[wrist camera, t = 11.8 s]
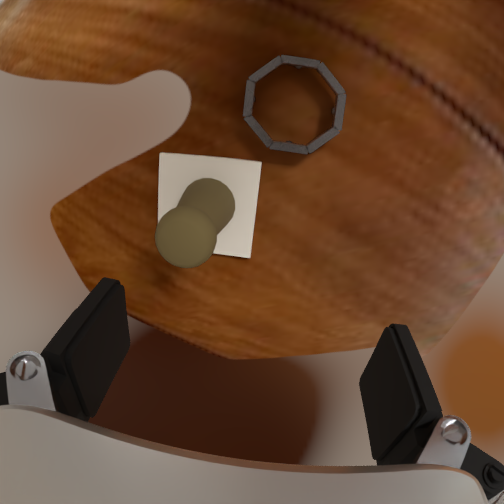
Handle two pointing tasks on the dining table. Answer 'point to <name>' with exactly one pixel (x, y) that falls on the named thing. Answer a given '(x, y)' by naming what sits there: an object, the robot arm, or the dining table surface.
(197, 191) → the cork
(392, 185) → the dining table surface
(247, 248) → the plate
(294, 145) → the ring stand
